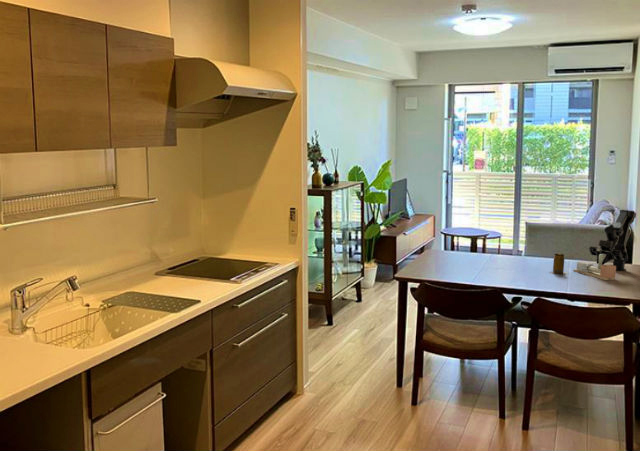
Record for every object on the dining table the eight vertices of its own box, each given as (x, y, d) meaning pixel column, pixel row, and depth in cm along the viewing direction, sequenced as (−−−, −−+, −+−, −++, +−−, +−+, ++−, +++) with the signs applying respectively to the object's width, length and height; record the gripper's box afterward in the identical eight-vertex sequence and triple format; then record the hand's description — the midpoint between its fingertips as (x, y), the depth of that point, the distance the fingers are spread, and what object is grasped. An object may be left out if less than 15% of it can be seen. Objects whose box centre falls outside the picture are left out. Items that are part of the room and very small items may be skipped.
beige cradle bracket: (590, 270, 384) (592, 251, 382) (610, 275, 370) (612, 256, 369) (586, 270, 383) (588, 251, 381) (606, 276, 369) (607, 256, 367)
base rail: (581, 270, 393) (582, 268, 393) (614, 279, 370) (615, 277, 369) (573, 270, 390) (573, 269, 390) (605, 280, 367) (606, 278, 367)
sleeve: (582, 269, 391) (583, 261, 390) (592, 271, 384) (593, 263, 383) (576, 269, 389) (577, 261, 388) (586, 272, 382) (587, 264, 381)
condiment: (556, 271, 389) (557, 252, 387) (568, 273, 383) (570, 254, 381) (549, 272, 385) (551, 253, 383) (562, 275, 378) (564, 255, 376)
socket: (609, 275, 374) (610, 264, 373) (615, 277, 369) (616, 266, 368) (600, 276, 371) (601, 265, 370) (606, 278, 367) (607, 266, 366)
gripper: (591, 233, 381) (580, 252, 376) (622, 237, 367) (611, 258, 362) (596, 244, 388) (586, 264, 382) (627, 249, 373) (616, 269, 368)
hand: (599, 263), depth 373 cm, fingers closed on beige cradle bracket, 3 cm apart
